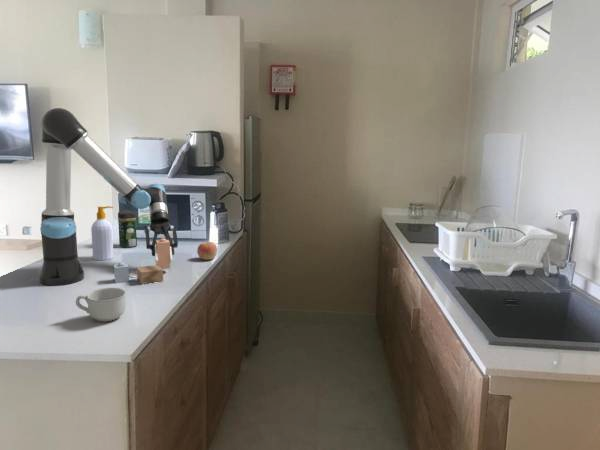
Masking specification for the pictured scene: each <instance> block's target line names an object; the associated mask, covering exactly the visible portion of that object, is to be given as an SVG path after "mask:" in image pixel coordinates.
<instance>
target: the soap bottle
mask: <svg viewBox="0 0 600 450" xmlns="http://www.w3.org/2000/svg"><path fill="white" fill-rule="evenodd" d="M104 209H113V206H109V205H108V206H107V205H106V206H97V212H96V220H95V221H94V222H93V223H92V225H91V228H90V229H91V230H90V231H91V243H92V247H91V248H92V258H93V260H95V261H108V260H111V259H114V242H113V241H114V240H113V237H114V236H113V226H112V224H111V223H110V221H109V220H108V219H107V218H106V212H105V211H104Z"/></svg>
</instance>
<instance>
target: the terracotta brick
mask: <svg viewBox="0 0 600 450" xmlns="http://www.w3.org/2000/svg"><path fill="white" fill-rule="evenodd" d="M155 247H157V256H158V264H156V263H155V265H158V266H159V267H160V268H161V269H162V270H166V269H167V270H168V269H169V270H171V263H170V242H169V240H166V237H164V238H163V237H162V238H159V239H156V244H155Z"/></svg>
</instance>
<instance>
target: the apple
mask: <svg viewBox="0 0 600 450" xmlns="http://www.w3.org/2000/svg"><path fill="white" fill-rule="evenodd" d="M196 249H197V252H196V253H197V254H198V257H199V258H200V259H201V260H203V261H211V260H213V259H215V258H216V257H217V253H218V247H217V244H215V242H211V241H209V242H207V241H205V242H202V243H200V244H199V245H198V246H197V248H196Z"/></svg>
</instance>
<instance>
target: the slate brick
mask: <svg viewBox="0 0 600 450" xmlns="http://www.w3.org/2000/svg"><path fill="white" fill-rule="evenodd" d="M113 268H114V283H115V284H120V283H121V284H122V283H129V282H130V276H129V273H130V271H129V270H130V269H129V263H125V262H123V261H122V262H118V264H116V263H115V264H114V267H113Z"/></svg>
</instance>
